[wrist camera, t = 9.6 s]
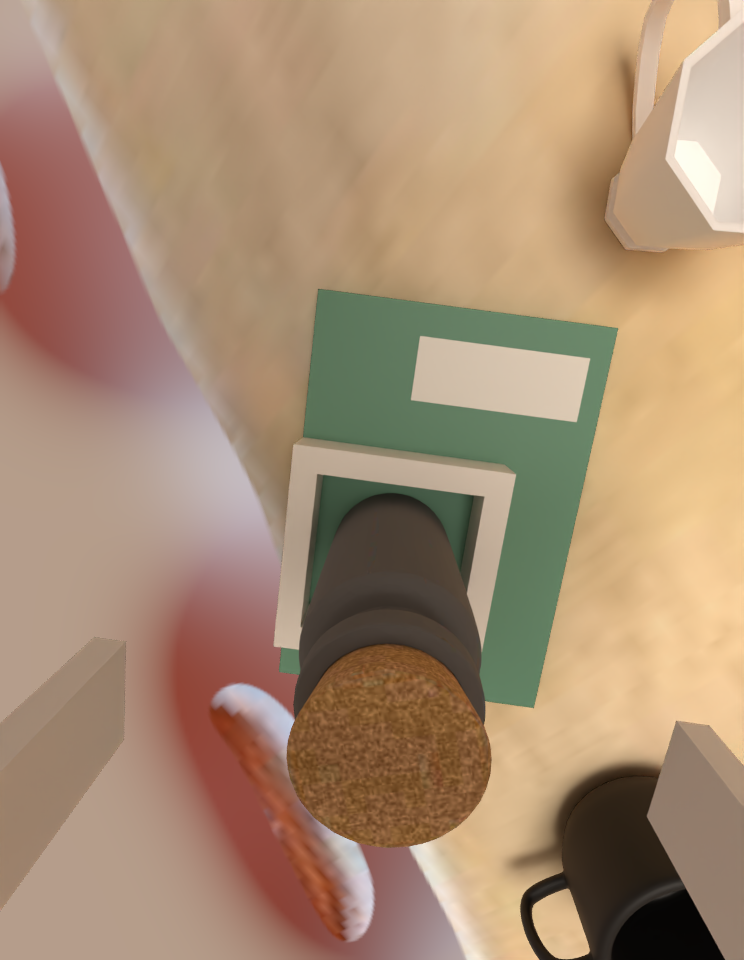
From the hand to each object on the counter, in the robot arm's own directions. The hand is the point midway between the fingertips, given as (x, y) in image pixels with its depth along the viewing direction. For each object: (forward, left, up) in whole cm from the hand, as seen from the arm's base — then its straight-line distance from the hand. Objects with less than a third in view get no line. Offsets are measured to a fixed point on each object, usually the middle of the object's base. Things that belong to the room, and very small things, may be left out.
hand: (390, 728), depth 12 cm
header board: (-2, +2, -15) cm, 15 cm away
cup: (-19, +9, -15) cm, 26 cm away
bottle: (0, 0, -15) cm, 15 cm away
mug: (+16, +15, -15) cm, 27 cm away
